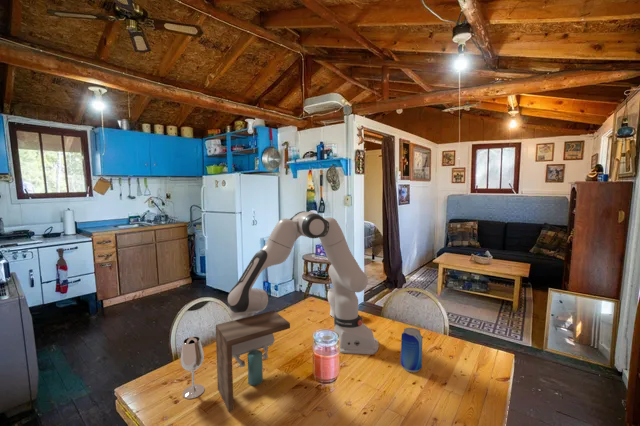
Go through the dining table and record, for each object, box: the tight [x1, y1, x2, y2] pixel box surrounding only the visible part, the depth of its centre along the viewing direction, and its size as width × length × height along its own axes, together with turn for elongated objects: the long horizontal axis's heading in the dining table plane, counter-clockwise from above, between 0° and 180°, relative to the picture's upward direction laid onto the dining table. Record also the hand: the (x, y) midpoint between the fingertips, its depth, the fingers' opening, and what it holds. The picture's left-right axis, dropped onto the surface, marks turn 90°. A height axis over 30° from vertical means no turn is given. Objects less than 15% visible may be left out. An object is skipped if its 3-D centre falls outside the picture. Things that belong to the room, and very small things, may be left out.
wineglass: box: [180, 336, 205, 400], centre depth 109 cm, size 8×8×20 cm
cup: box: [327, 287, 335, 318], centre depth 176 cm, size 11×11×15 cm
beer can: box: [400, 327, 423, 373], centre depth 124 cm, size 8×8×16 cm
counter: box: [215, 310, 291, 413], centre depth 111 cm, size 14×24×25 cm, turn 124°
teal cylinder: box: [247, 349, 264, 387], centre depth 116 cm, size 6×6×11 cm
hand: (254, 362), depth 116 cm, fingers open, 8 cm apart
